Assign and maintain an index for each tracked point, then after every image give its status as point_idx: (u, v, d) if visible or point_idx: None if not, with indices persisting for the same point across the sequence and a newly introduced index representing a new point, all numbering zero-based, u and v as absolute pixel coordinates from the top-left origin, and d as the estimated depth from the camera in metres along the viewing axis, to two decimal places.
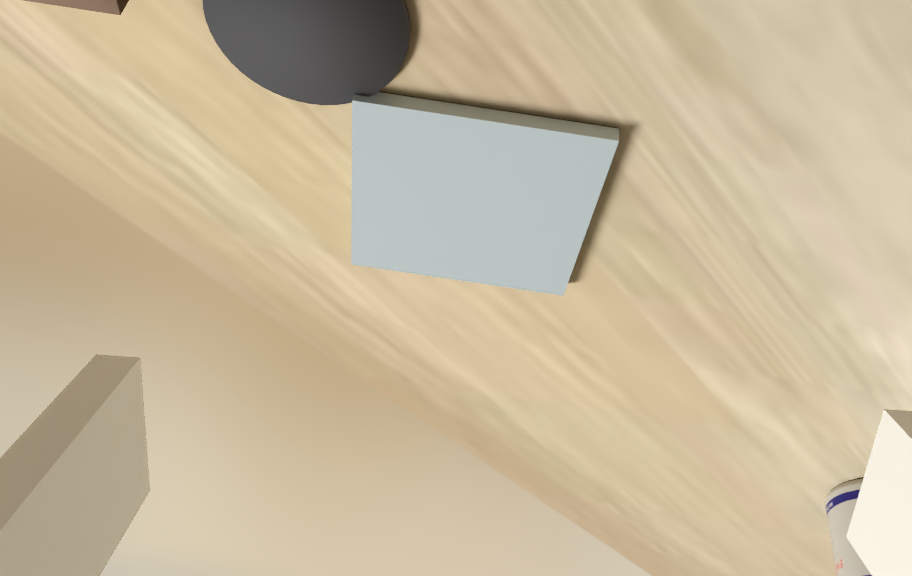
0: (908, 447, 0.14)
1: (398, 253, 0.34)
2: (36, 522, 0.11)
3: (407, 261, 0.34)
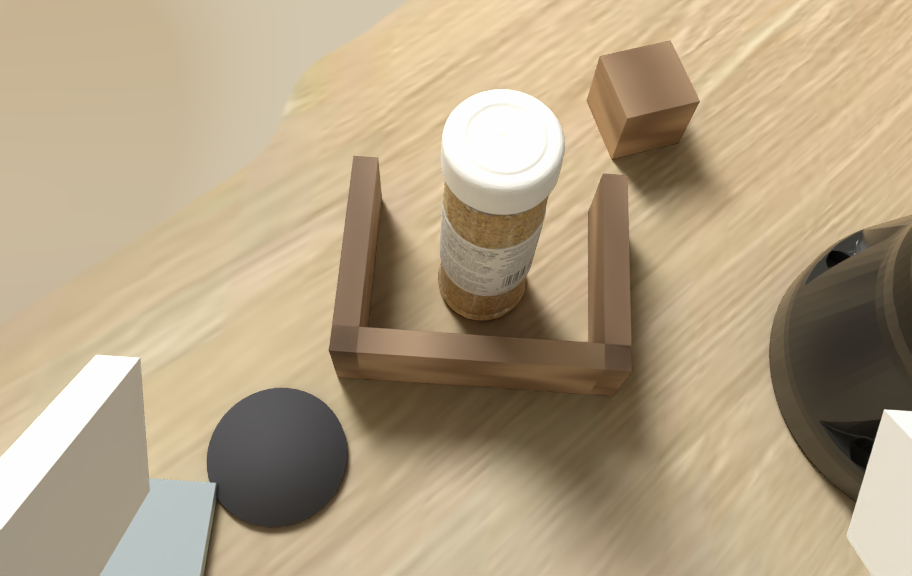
0: (908, 448, 0.14)
1: None
2: (36, 522, 0.11)
3: None
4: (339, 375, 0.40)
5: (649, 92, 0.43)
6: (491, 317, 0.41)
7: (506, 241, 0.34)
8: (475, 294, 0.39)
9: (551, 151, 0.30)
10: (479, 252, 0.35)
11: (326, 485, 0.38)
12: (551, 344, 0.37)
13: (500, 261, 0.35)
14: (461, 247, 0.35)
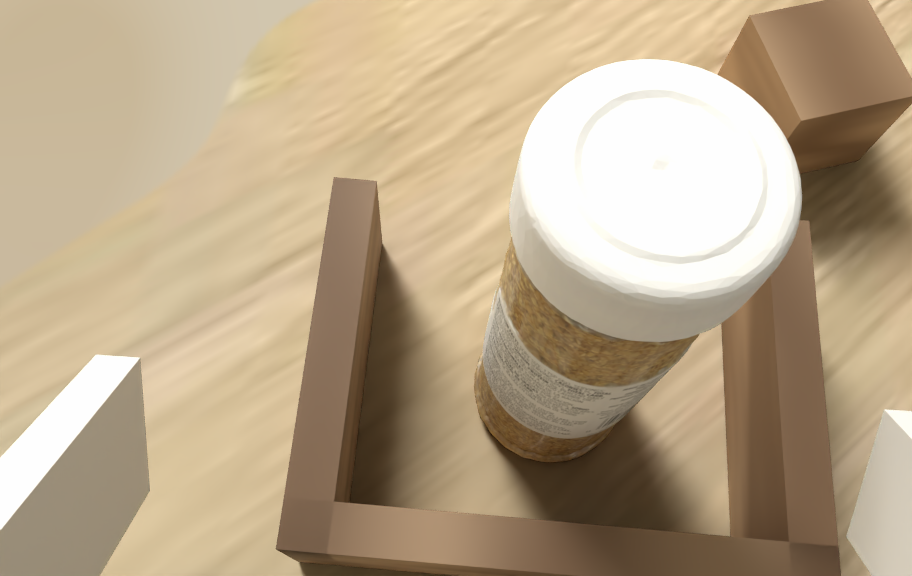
0: (908, 448, 0.14)
1: None
2: (36, 522, 0.11)
3: None
4: (301, 561, 0.23)
5: (835, 78, 0.26)
6: (565, 458, 0.24)
7: (632, 375, 0.16)
8: (547, 435, 0.21)
9: (776, 205, 0.13)
10: (573, 388, 0.17)
11: None
12: (690, 542, 0.20)
13: (610, 401, 0.18)
14: (534, 373, 0.18)
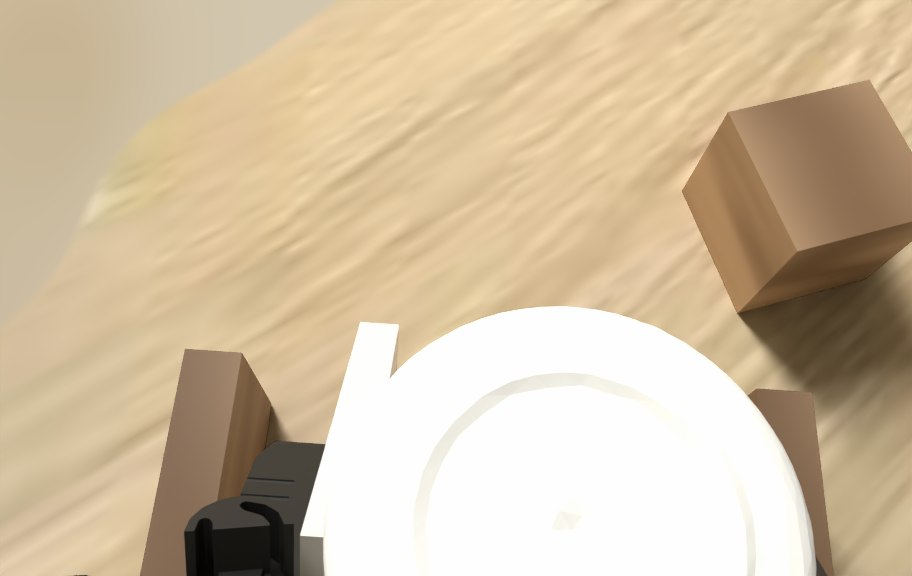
0: None
1: None
2: None
3: None
4: None
5: (837, 192, 0.20)
6: None
7: None
8: None
9: None
10: None
11: None
12: None
13: None
14: None
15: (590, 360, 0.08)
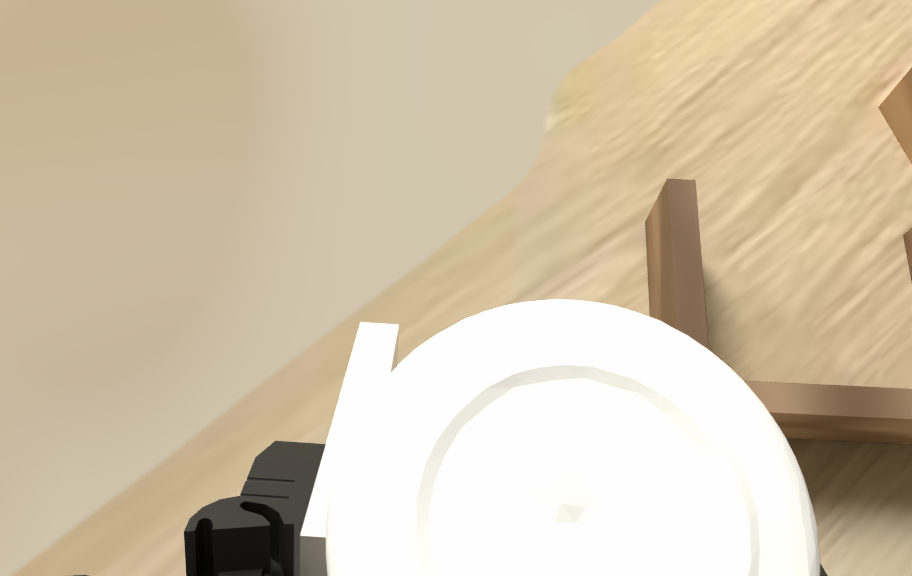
0: None
1: None
2: None
3: None
4: None
5: None
6: None
7: None
8: None
9: None
10: None
11: None
12: None
13: None
14: None
15: (593, 352, 0.08)
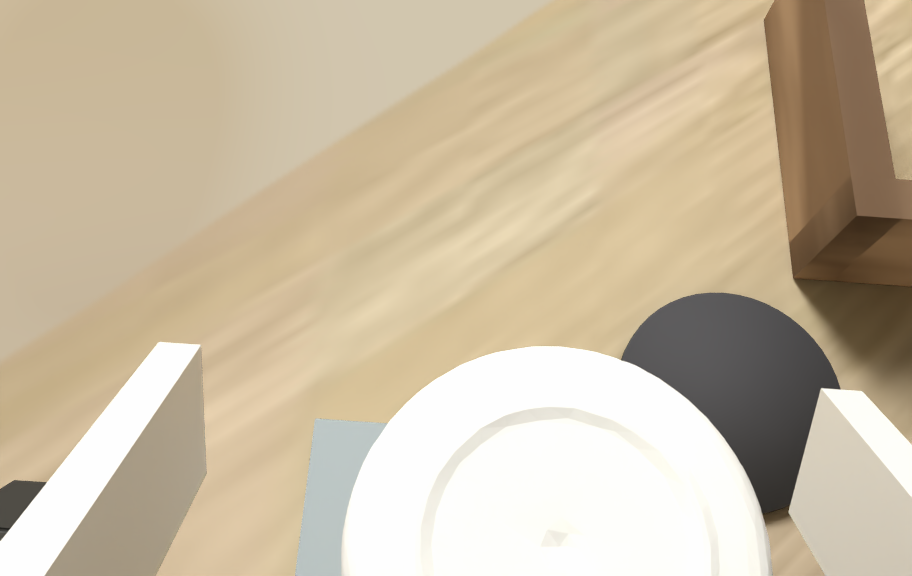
0: (840, 423, 0.14)
1: None
2: (120, 497, 0.11)
3: (334, 509, 0.22)
4: (799, 275, 0.25)
5: None
6: None
7: None
8: None
9: None
10: None
11: None
12: None
13: None
14: None
15: (576, 395, 0.09)
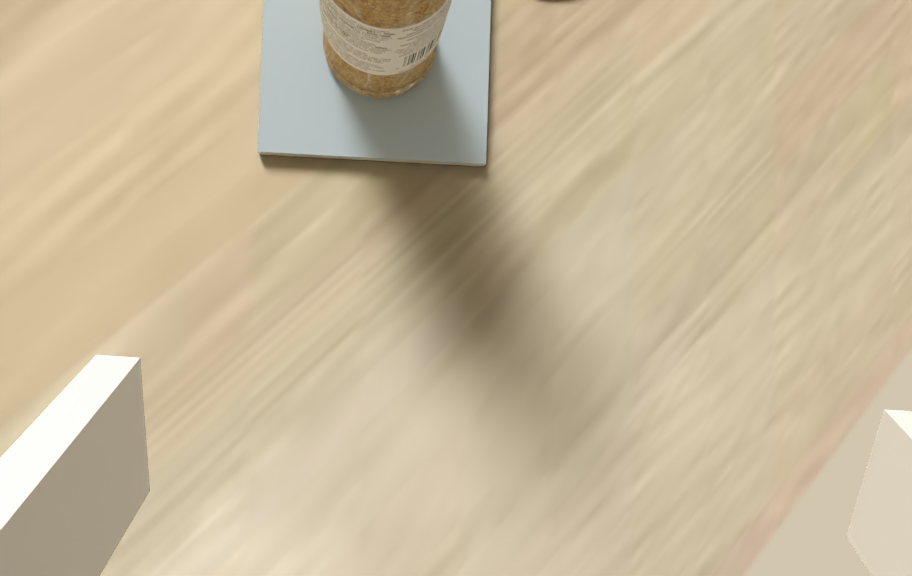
0: (908, 448, 0.14)
1: None
2: (36, 522, 0.11)
3: None
4: None
5: None
6: (392, 94, 0.33)
7: (404, 19, 0.24)
8: (370, 73, 0.30)
9: None
10: (369, 31, 0.25)
11: None
12: None
13: (398, 41, 0.26)
14: (343, 21, 0.26)
15: None
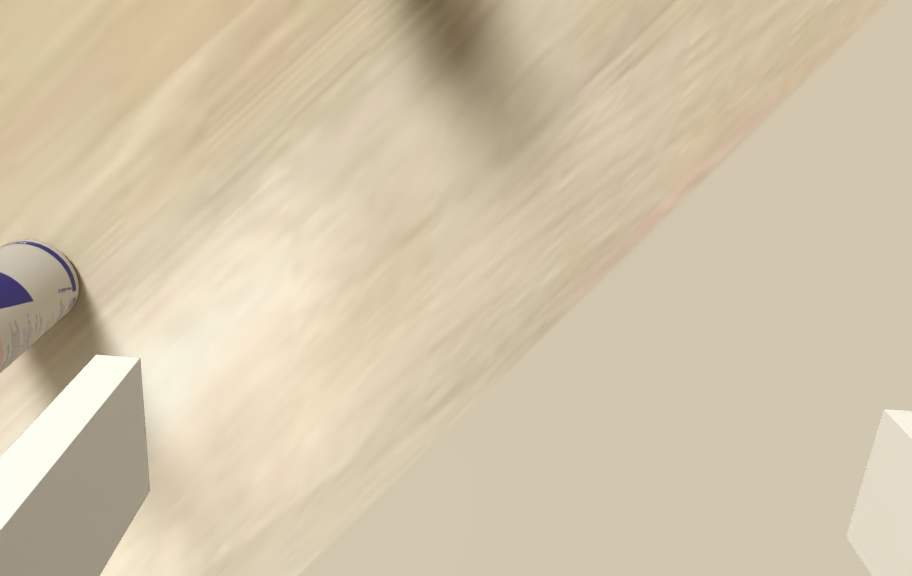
0: (908, 448, 0.14)
1: None
2: (36, 522, 0.11)
3: None
4: None
5: None
6: None
7: None
8: None
9: None
10: None
11: None
12: None
13: None
14: None
15: None
